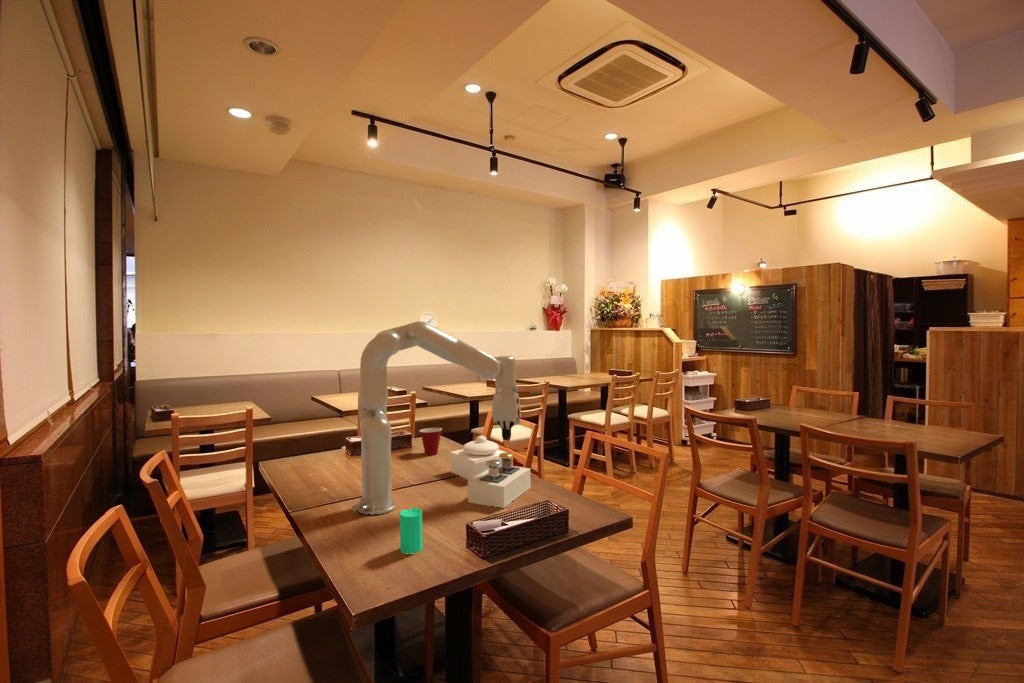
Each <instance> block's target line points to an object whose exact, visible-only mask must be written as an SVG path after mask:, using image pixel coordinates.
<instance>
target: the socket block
mask: <svg viewBox="0 0 1024 683" xmlns="http://www.w3.org/2000/svg"><path fill="white" fill-rule="evenodd" d="M531 488H532V487H531V468H529V467H522V466H516V465H515V466H514V465H511V471H510V472H507V471H502V464H501V465H500V466H499V479H497V480H493V479H489V469H488V470H486V471H484V472H482V473H481V474H479V475H477V476H475V477H474V478H472V479H470V480H467V503H469V504H476V505H481V506H485V505H486V506H487V507H491V506H494V507H493V508H496V507H501V508H500V509H502V508H504V507H506V506H507V505H508V504H509V503H511V502H512V501H513V500H515V499H516V498H517V497H519V496H520V495H521V494H523V493H524V492H525V491H526V492H528V491H529V490H530V489H531ZM528 489H529V490H528ZM527 490H528V491H527ZM526 492H525V493H526ZM525 493H524V494H525ZM524 494H523V495H524ZM521 496H522V495H521ZM521 496H520V497H521ZM520 497H519V498H520ZM517 499H518V498H517ZM517 499H516V500H517ZM516 500H515V501H516ZM512 503H513V502H512ZM512 503H511V504H512ZM508 506H509V505H508ZM508 506H507V507H508ZM507 507H506V508H507Z"/></svg>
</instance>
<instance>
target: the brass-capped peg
mask: <svg viewBox="0 0 1024 683" xmlns="http://www.w3.org/2000/svg"><path fill="white" fill-rule="evenodd" d="M499 458H501V459H502V471H507V472H510V471H511V466H512V459H514V458H515V456H514V453H512V452H507V453H501V454H499Z"/></svg>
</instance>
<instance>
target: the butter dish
mask: <svg viewBox="0 0 1024 683" xmlns="http://www.w3.org/2000/svg"><path fill="white" fill-rule="evenodd" d="M499 448H500V447H499V444H498V443H496V442H494V441H490V440H487V437H486V436H484V435H478V436H477V437H476V438H475V440H471V441H469V442H467V443H465V444H464V445H463V446H462V449H458V450H453V451H450V452H449V454H450V473H451V472H452V473H455V474H457V475H459V476H461V477H463V478H462V479H464V478H465V479H464V480H466V479H467V480H466V481H468V480H470V479H472V478H474V477H475V476H477V475H479V474H481V473H482V472H484V471H486V470H488V469H489V466H487V465H486V461H488V460H500V461H501V464H502V459H501V458H499V454H501V453H508V451H504V450H501V449H499ZM452 473H451V474H452ZM457 475H456V476H457ZM459 476H458V477H459ZM461 477H460V478H461Z"/></svg>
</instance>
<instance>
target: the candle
mask: <svg viewBox="0 0 1024 683" xmlns="http://www.w3.org/2000/svg"><path fill="white" fill-rule="evenodd" d="M399 539H400V541H399V545H400V546H399V550H401V551H400V553H401V552H403V553H408V554H410V553H416V552H418V551H420V550H421V549H422V550H423V510H422V509H420V508H418V507H410V508H409V509H402V510H401V511H400V512H399ZM422 550H421V551H422Z"/></svg>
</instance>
